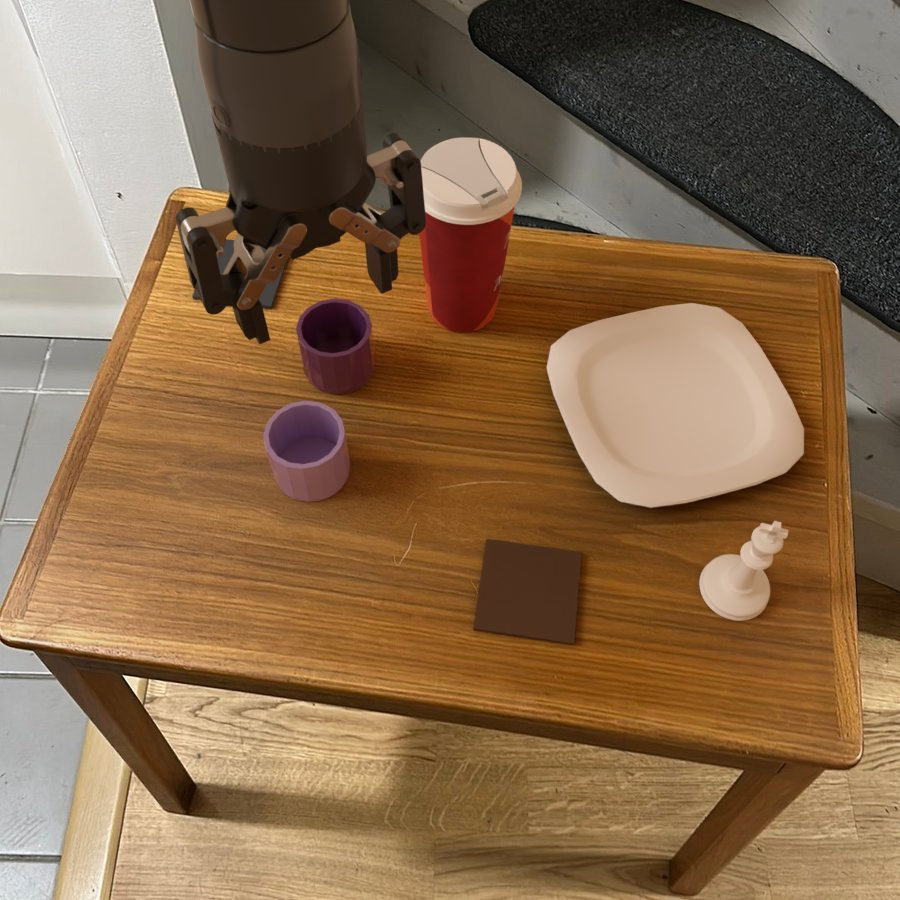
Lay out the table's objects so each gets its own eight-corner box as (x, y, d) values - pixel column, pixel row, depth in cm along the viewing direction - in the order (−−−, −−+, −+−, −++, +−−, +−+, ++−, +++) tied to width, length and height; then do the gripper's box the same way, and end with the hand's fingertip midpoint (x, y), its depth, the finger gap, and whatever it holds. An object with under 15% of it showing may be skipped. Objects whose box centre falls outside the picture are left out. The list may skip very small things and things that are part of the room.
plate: (723, 302, 80) (728, 288, 79) (824, 475, 71) (832, 463, 70) (526, 346, 77) (528, 333, 76) (604, 532, 68) (608, 522, 67)
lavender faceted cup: (265, 496, 70) (254, 462, 65) (284, 432, 73) (274, 395, 68) (341, 507, 69) (334, 473, 65) (356, 442, 72) (351, 406, 68)
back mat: (192, 299, 80) (191, 296, 79) (215, 240, 83) (214, 237, 83) (272, 309, 79) (271, 306, 79) (291, 250, 83) (291, 246, 82)
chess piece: (764, 629, 64) (814, 569, 56) (694, 609, 65) (732, 548, 57) (772, 567, 67) (821, 501, 58) (704, 549, 68) (743, 481, 59)
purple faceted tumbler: (297, 389, 75) (288, 351, 71) (313, 334, 78) (306, 294, 74) (367, 398, 74) (363, 361, 70) (380, 342, 77) (377, 303, 73)
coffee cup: (528, 316, 79) (546, 180, 66) (449, 358, 77) (452, 226, 64) (472, 256, 83) (479, 116, 70) (395, 294, 80) (387, 157, 67)
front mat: (473, 630, 64) (473, 628, 64) (486, 540, 68) (486, 538, 67) (573, 645, 64) (574, 643, 63) (581, 554, 67) (582, 551, 67)
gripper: (379, 10, 49) (391, 232, 63) (120, 92, 45) (194, 310, 59) (448, 90, 46) (445, 306, 59) (174, 187, 42) (239, 394, 56)
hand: (320, 308), depth 59 cm, fingers open, 8 cm apart
